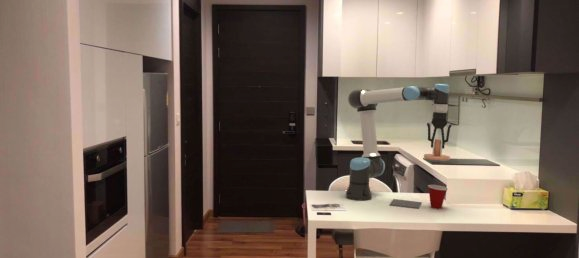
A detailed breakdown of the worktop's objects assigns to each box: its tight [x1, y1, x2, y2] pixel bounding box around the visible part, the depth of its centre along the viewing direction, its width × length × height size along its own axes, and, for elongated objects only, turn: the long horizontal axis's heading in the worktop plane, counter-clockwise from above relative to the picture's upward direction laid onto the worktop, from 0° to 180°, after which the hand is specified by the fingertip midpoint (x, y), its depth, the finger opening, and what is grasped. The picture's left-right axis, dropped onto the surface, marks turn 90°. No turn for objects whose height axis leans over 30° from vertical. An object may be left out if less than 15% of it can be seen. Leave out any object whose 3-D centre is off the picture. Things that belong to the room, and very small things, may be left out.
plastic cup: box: [427, 184, 448, 210], centre depth 278 cm, size 11×11×12 cm
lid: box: [423, 138, 451, 162], centre depth 276 cm, size 14×14×10 cm
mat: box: [388, 198, 422, 210], centre depth 284 cm, size 16×15×1 cm
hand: (437, 153), depth 276 cm, fingers closed on lid, 3 cm apart
